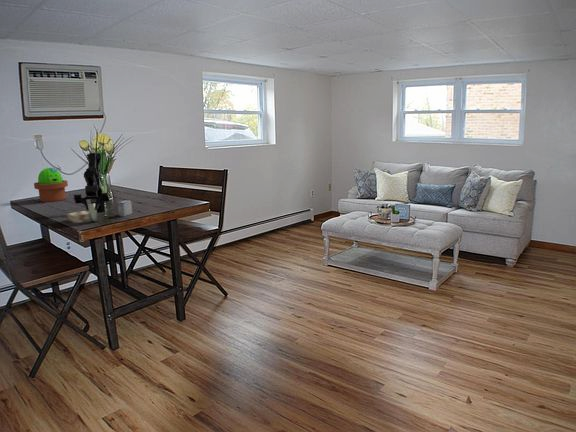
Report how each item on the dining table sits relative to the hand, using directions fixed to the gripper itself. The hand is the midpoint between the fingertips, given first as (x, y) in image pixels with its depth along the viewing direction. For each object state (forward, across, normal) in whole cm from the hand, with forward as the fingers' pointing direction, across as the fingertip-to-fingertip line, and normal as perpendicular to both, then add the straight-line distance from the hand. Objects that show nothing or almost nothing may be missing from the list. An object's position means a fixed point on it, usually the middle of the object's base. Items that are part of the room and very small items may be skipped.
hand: (91, 209), depth 255 cm
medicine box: (-4, +17, +16) cm, 24 cm away
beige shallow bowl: (-2, -9, +13) cm, 16 cm away
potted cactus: (-59, -39, +71) cm, 100 cm away
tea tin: (+4, 0, +6) cm, 7 cm away
